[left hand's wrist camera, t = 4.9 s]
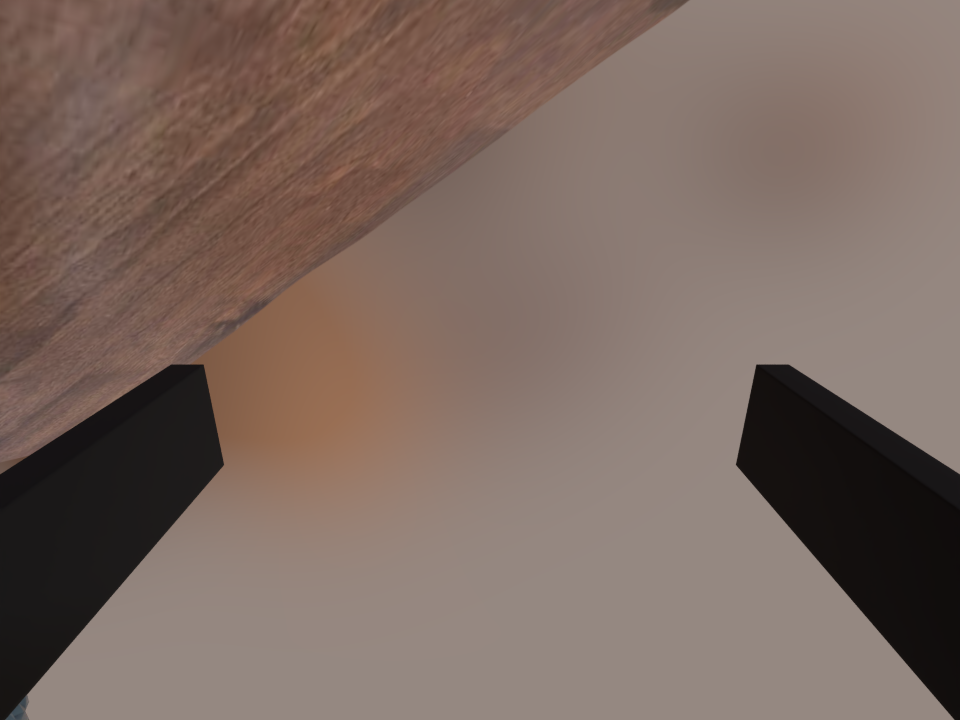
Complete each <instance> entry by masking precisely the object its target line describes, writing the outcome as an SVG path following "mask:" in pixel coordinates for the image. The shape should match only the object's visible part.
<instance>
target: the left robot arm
mask: <svg viewBox="0 0 960 720" xmlns="http://www.w3.org/2000/svg"><path fill="white" fill-rule="evenodd" d="M223 465H224V463H223V457H222V453H221V448H220V443H219V438H218V433H217V428H216V423H215V418H214V413H213V409H212V403H211V399H210V394H209V389H208V384H207V379H206V374H205V369H204V365H170V366H168V367H167V368H165V369H164V370H162V371H161V372H159V373H157V374H156V375H154V376H153V377H151V378H150V379H148V380H147V381H145V382H143V383H142V384H140V385H139V386H137V387H136V388H134V389H133V390H131V391H129V392H128V393H126V394H125V395H123V396H122V397H120V398H119V399H117V400H115V401H114V402H112V403H111V404H109V405H108V406H106V407H104V408H103V409H101V410H100V411H98V412H97V413H95V414H94V415H92V416H90V417H89V418H87V419H86V420H84V421H83V422H81V423H80V424H78V425H76V426H75V427H73V428H72V429H70V430H69V431H67V432H66V433H64V434H62V435H61V436H59V437H58V438H56V439H55V440H53V441H52V442H50V443H48V444H47V445H45V446H44V447H42V448H41V449H39V450H37V451H36V452H34V453H33V454H31V455H30V456H28V457H27V458H25V459H23V460H22V461H20V462H19V463H17V464H16V465H14V466H13V467H11V468H10V469H8V470H6V471H5V472H3V473H2V474H0V720H29V719H28V716H27V714H26V712H25V710H26V707H27V705H28V703H29V701H28V696H27V694H28V693H29V692H30V690H31V689H32V688H33V687H34V686H35V685H36V683H37V682H38V681H39V680H40V679H41V678H42V676H43V675H44V674H45V673H46V672H47V671H48V670H49V668H50V667H51V666H52V665H53V664H54V663H55V661H56V660H57V659H58V658H59V657H60V655H61V654H62V653H63V652H64V651H65V650H66V648H67V647H68V646H69V645H70V644H71V643H72V642H73V640H74V639H75V638H76V637H77V636H78V635H79V633H80V632H81V631H82V630H83V629H84V628H85V626H86V625H87V624H88V623H89V622H90V620H91V619H92V618H93V617H94V616H95V615H96V614H97V612H98V611H99V610H100V609H101V608H102V607H103V605H104V604H105V603H106V602H107V601H108V600H109V598H110V597H111V596H112V595H113V594H114V593H115V591H116V590H117V589H118V588H119V587H120V586H121V584H122V583H123V582H124V581H125V580H126V579H127V577H128V576H129V575H130V574H131V573H132V572H133V570H134V569H135V568H136V567H137V566H138V565H139V563H140V562H141V561H142V560H143V559H144V558H145V556H146V555H147V554H148V553H149V552H150V551H151V549H152V548H153V547H154V546H155V545H156V544H157V542H158V541H159V540H160V539H161V538H162V537H163V535H164V534H165V533H166V532H167V531H168V530H169V528H170V527H171V526H172V525H173V524H174V523H175V521H176V520H177V519H178V518H179V517H180V516H181V514H182V513H183V512H184V511H185V510H186V509H187V507H188V506H189V505H190V504H191V503H192V502H193V500H194V499H195V498H196V497H197V496H198V495H199V493H200V492H201V491H202V490H203V489H204V488H205V486H206V485H207V484H208V483H209V482H210V481H211V479H212V478H213V477H214V476H215V475H216V474H217V472H218V471H219V470H220V469H221V468H222V467H223ZM736 465H737V467H738V468H739V469H740V470H741V471H742V472H743V474H744V475H745V476H746V477H747V478H748V479H749V481H750V482H751V483H752V484H753V485H754V486H755V488H756V489H757V490H758V491H759V492H760V493H761V495H762V496H763V497H764V498H765V499H766V500H767V502H768V503H769V504H770V505H771V506H772V507H773V509H774V510H775V511H776V512H777V513H778V514H779V516H780V517H781V518H782V519H783V520H784V521H785V523H786V524H787V525H788V526H789V527H790V528H791V530H792V531H793V532H794V533H795V534H796V535H797V537H798V538H799V539H800V540H801V541H802V542H803V544H804V545H805V546H806V547H807V548H808V549H809V551H810V552H811V553H812V554H813V555H814V556H815V558H816V559H817V560H818V561H819V562H820V563H821V565H822V566H823V567H824V568H825V569H826V570H827V572H828V573H829V574H830V575H831V576H832V577H833V579H834V580H835V581H836V582H837V583H838V584H839V586H840V587H841V588H842V589H843V590H844V591H845V593H846V594H847V595H848V596H849V597H850V598H851V600H852V601H853V602H854V603H855V604H856V605H857V607H858V608H859V609H860V610H861V611H862V612H863V614H864V615H865V616H866V617H867V618H868V619H869V621H870V622H871V623H872V624H873V625H874V626H875V627H876V629H877V630H878V631H879V632H880V633H881V635H882V636H883V637H884V638H885V639H886V640H887V641H888V643H889V644H890V645H891V646H892V647H893V648H894V650H895V651H896V652H897V653H898V654H899V656H900V657H901V658H902V659H903V660H904V661H905V663H906V664H907V665H908V666H909V667H910V668H911V669H912V671H913V672H914V673H915V674H916V675H917V676H918V678H919V679H920V680H921V681H922V682H923V683H924V685H925V686H926V687H927V688H928V689H929V690H930V692H931V693H932V694H933V695H934V696H935V697H936V699H937V700H938V701H939V702H940V703H941V704H942V706H943V707H944V708H945V709H946V710H947V711H948V713H949V714H950V715H951V716H952V717H953V718H954V720H960V474H958V473H957V472H955V471H954V470H952V469H951V468H949V467H947V466H946V465H944V464H943V463H941V462H940V461H938V460H937V459H935V458H933V457H932V456H930V455H929V454H927V453H926V452H924V451H923V450H921V449H919V448H918V447H916V446H915V445H913V444H912V443H910V442H908V441H907V440H905V439H904V438H902V437H901V436H899V435H898V434H896V433H894V432H893V431H891V430H890V429H888V428H887V427H885V426H884V425H882V424H880V423H879V422H877V421H876V420H874V419H873V418H871V417H870V416H868V415H866V414H865V413H863V412H862V411H860V410H859V409H857V408H856V407H854V406H852V405H851V404H849V403H848V402H846V401H845V400H843V399H841V398H840V397H838V396H837V395H835V394H834V393H832V392H831V391H829V390H827V389H826V388H824V387H823V386H821V385H820V384H818V383H817V382H815V381H813V380H812V379H810V378H809V377H807V376H806V375H804V374H803V373H801V372H799V371H798V370H796V369H795V368H793V367H792V366H790V365H756V369H755V374H754V379H753V384H752V389H751V394H750V399H749V403H748V408H747V413H746V418H745V423H744V428H743V433H742V438H741V443H740V448H739V453H738V458H737V462H736Z"/></svg>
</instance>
